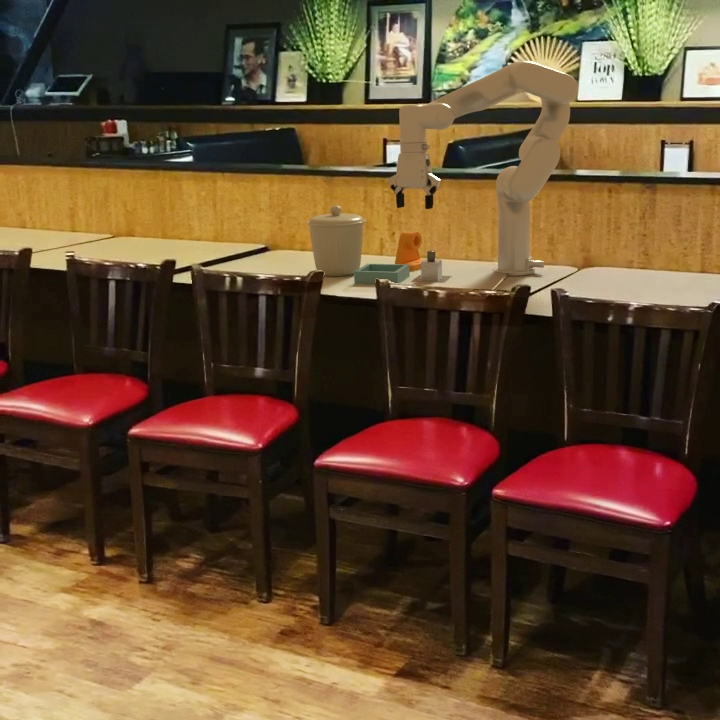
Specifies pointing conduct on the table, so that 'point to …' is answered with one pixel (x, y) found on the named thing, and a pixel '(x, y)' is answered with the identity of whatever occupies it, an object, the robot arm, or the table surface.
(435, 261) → the strut socket
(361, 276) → the bin
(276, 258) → the table surface
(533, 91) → the robot arm
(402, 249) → the bracket
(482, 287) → the table surface
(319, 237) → the canister
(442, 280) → the stud mount
